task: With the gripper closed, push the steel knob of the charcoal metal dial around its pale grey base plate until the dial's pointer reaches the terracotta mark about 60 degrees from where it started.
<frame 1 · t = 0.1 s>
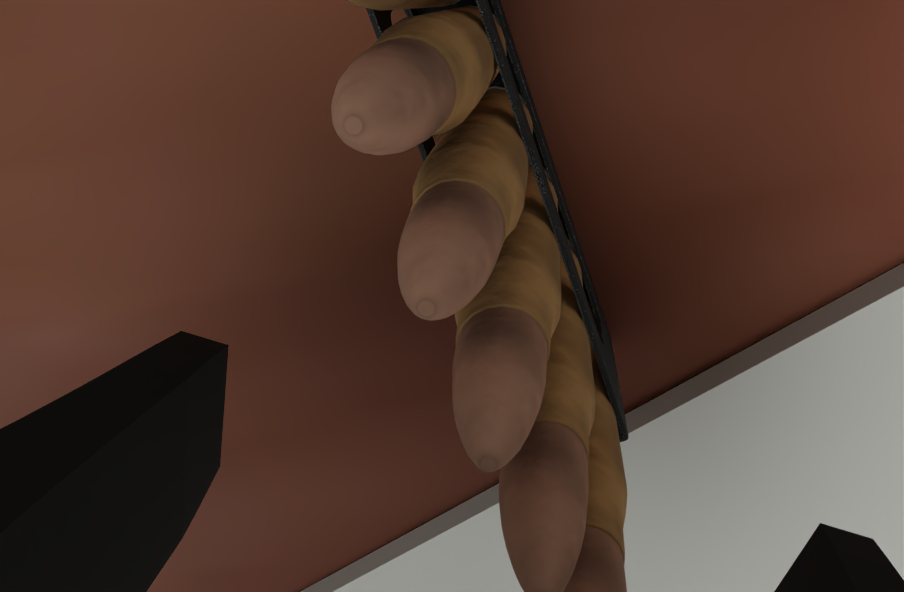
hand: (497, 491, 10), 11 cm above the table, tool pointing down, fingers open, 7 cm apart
ammunition clip: (508, 154, 19), on the table
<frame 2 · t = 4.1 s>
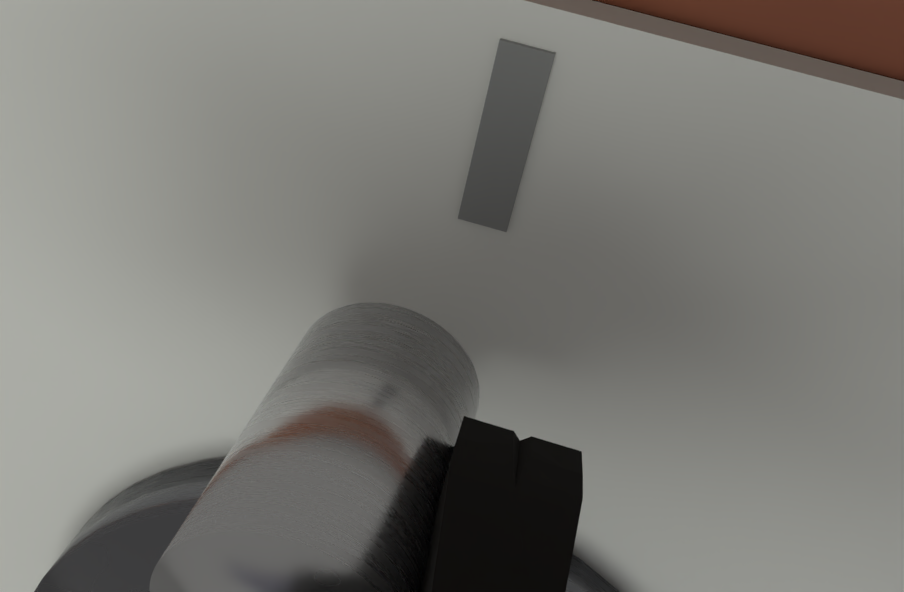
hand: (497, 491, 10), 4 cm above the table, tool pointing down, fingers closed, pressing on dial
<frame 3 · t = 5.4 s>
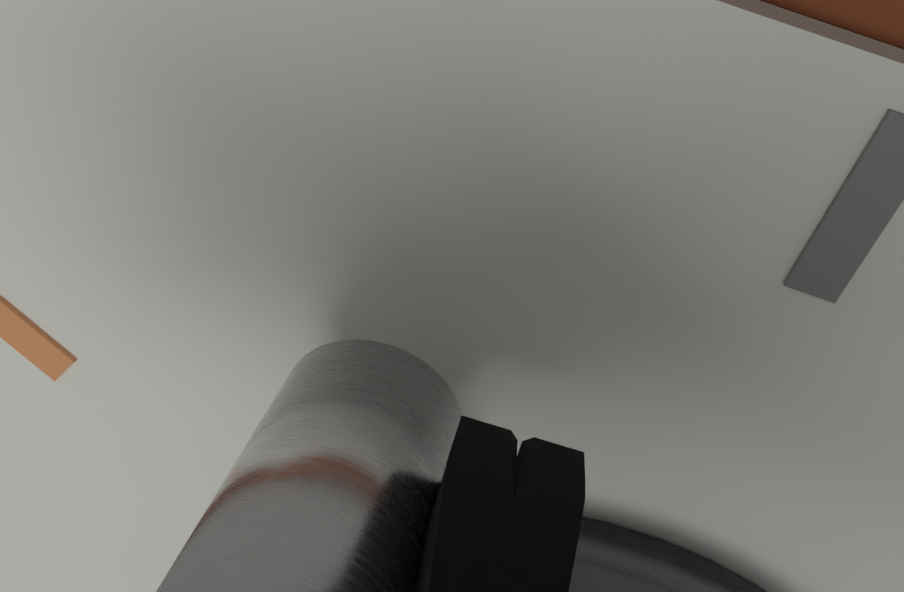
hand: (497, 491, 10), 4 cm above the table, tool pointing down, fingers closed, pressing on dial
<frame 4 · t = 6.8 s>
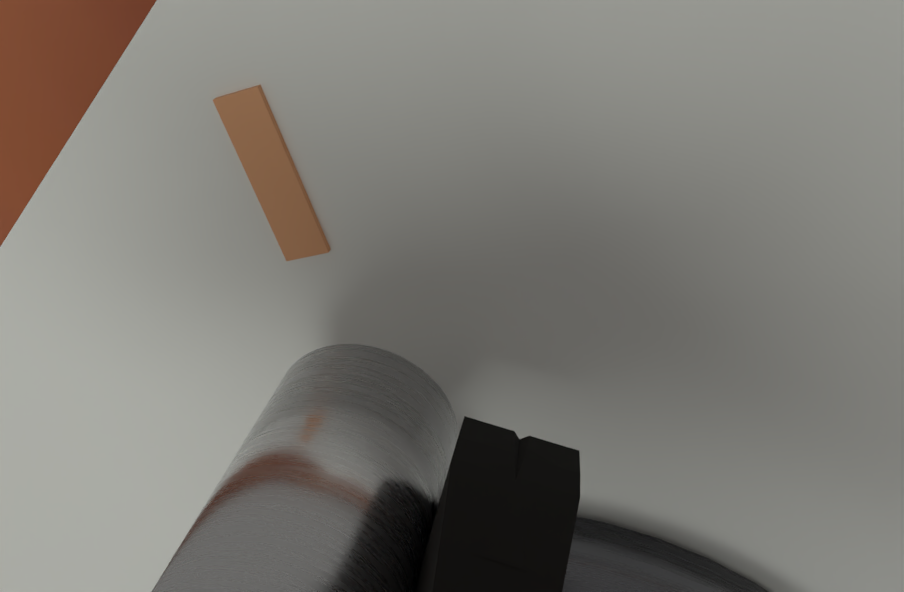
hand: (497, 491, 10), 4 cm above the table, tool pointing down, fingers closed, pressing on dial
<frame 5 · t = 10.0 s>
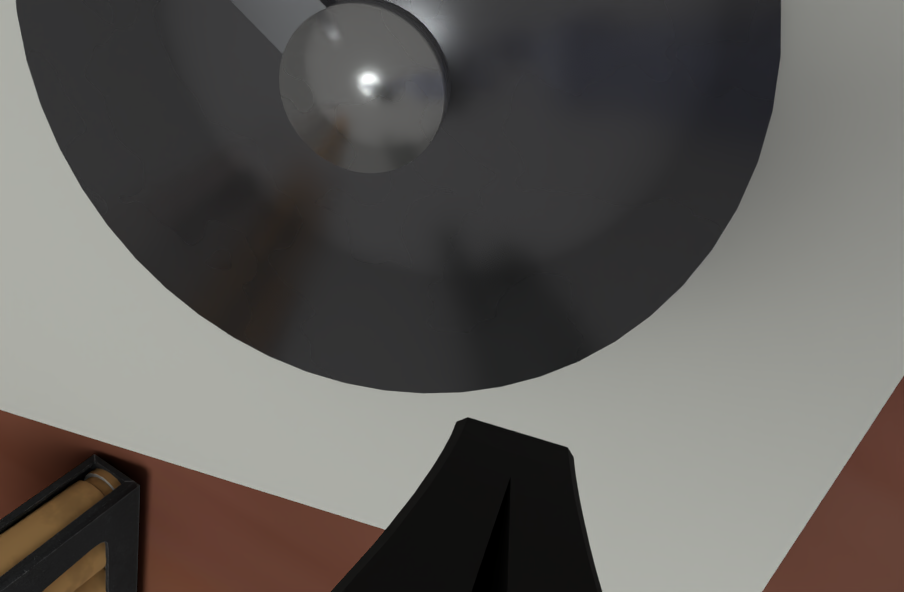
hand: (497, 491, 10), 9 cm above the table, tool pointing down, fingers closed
ammunition clip: (121, 570, 28), on the table, touching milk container
dial: (252, 6, 13), point 4 cm above the table, hinge at 56.5°
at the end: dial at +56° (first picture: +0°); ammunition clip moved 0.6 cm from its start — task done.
